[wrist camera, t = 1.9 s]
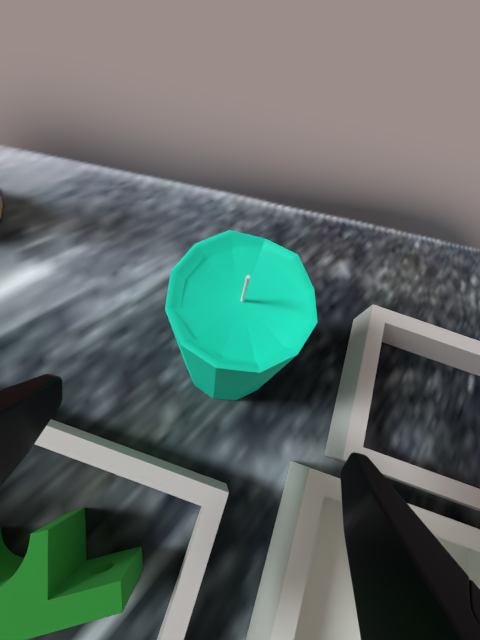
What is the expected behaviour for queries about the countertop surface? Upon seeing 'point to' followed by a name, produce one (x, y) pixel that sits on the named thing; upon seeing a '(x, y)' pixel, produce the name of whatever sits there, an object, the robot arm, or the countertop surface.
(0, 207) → the hand bell
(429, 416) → the countertop surface
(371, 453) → the grey rectangular frame
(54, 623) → the pipe clamp
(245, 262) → the candle
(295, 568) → the bin
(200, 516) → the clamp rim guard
